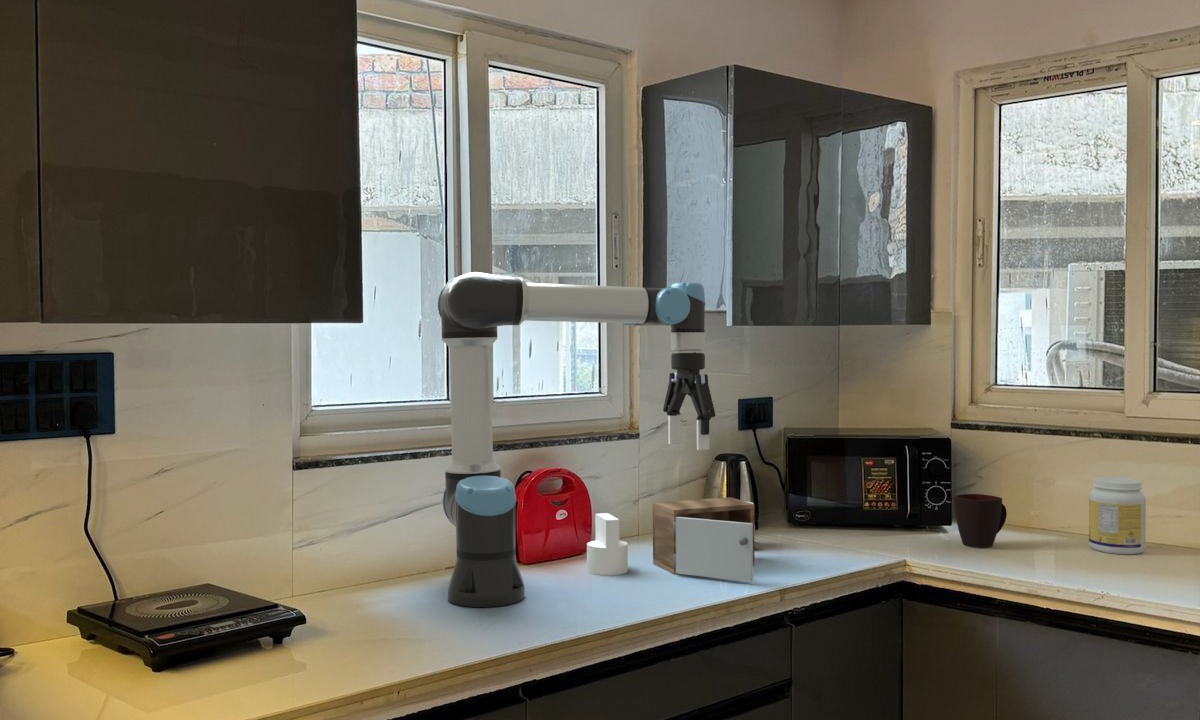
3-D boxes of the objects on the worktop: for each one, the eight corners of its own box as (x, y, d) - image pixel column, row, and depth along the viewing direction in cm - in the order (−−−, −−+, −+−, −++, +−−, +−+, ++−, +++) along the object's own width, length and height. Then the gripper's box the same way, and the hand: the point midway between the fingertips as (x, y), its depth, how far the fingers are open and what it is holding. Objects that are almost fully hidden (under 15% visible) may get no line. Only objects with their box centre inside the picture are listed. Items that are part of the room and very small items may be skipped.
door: (669, 574, 216) (669, 518, 215) (674, 571, 218) (674, 516, 218) (748, 583, 207) (748, 525, 207) (752, 580, 209) (752, 523, 209)
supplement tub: (1098, 542, 250) (1098, 475, 249) (1152, 549, 241) (1152, 479, 241) (1081, 550, 241) (1081, 480, 241) (1136, 557, 232) (1136, 485, 232)
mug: (947, 544, 249) (947, 495, 249) (987, 538, 255) (987, 491, 255) (979, 551, 240) (979, 501, 240) (1019, 545, 246) (1019, 497, 246)
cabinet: (674, 574, 218) (673, 510, 218) (653, 563, 228) (652, 502, 228) (754, 566, 225) (754, 504, 225) (730, 556, 236) (730, 497, 235)
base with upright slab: (633, 573, 219) (632, 518, 219) (593, 576, 216) (593, 521, 216) (620, 565, 228) (620, 512, 227) (582, 567, 225) (582, 514, 225)
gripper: (731, 352, 215) (731, 451, 215) (677, 351, 238) (677, 441, 238) (700, 352, 212) (700, 453, 212) (648, 351, 235) (649, 442, 235)
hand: (688, 446), depth 225 cm, fingers open, 13 cm apart
